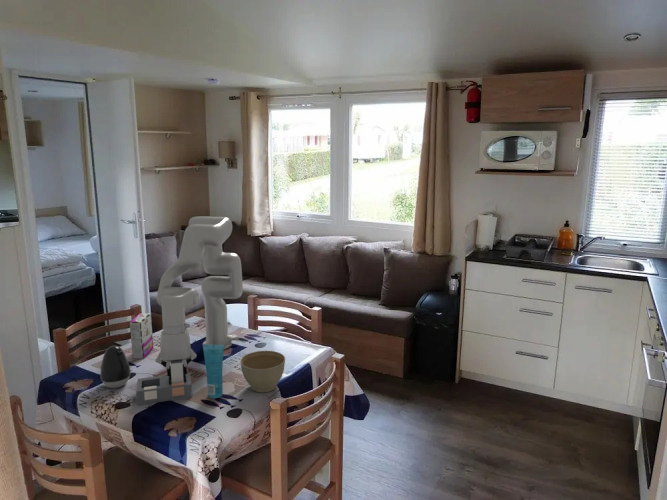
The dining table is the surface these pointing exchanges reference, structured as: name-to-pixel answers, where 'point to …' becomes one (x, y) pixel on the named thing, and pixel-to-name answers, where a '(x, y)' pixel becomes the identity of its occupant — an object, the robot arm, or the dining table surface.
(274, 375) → the planter bowl
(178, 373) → the plug
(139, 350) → the candy bar box
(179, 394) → the socket box
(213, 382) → the tube
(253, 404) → the dining table surface
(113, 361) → the dark grey egg
